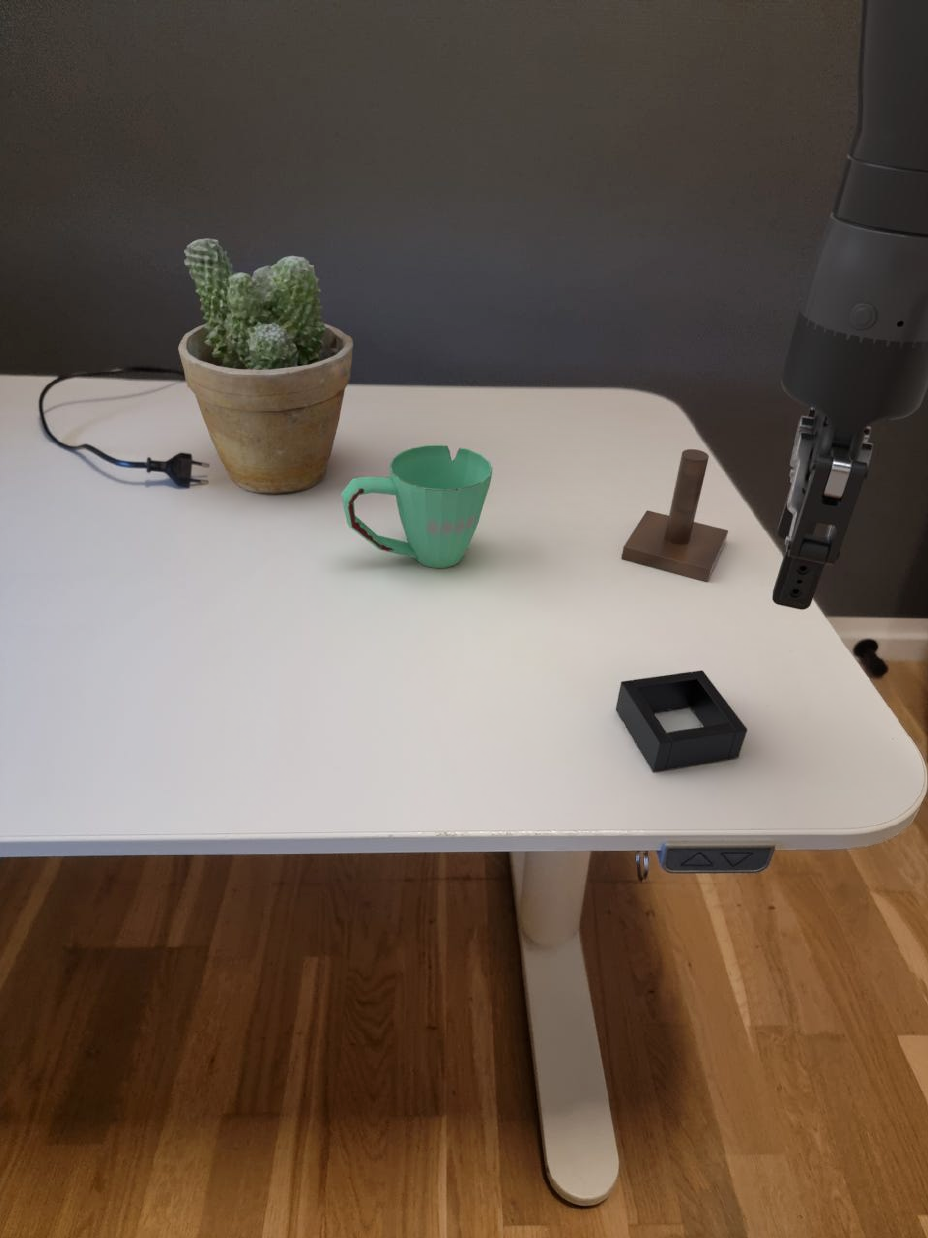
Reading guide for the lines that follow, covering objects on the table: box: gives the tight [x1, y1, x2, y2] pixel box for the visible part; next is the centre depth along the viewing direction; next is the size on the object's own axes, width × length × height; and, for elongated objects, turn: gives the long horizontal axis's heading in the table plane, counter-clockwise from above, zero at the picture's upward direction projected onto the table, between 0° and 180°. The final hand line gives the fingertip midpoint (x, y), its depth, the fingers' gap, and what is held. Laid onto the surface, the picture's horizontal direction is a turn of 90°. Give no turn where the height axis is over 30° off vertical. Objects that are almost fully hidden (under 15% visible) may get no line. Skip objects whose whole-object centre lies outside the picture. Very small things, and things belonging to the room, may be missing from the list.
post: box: [621, 448, 729, 583], centre depth 88 cm, size 9×9×11 cm
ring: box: [615, 670, 748, 773], centre depth 67 cm, size 7×7×3 cm
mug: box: [340, 444, 493, 569], centre depth 85 cm, size 15×10×10 cm
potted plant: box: [177, 238, 354, 495], centre depth 94 cm, size 18×19×25 cm
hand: (791, 569), depth 56 cm, fingers open, 8 cm apart
